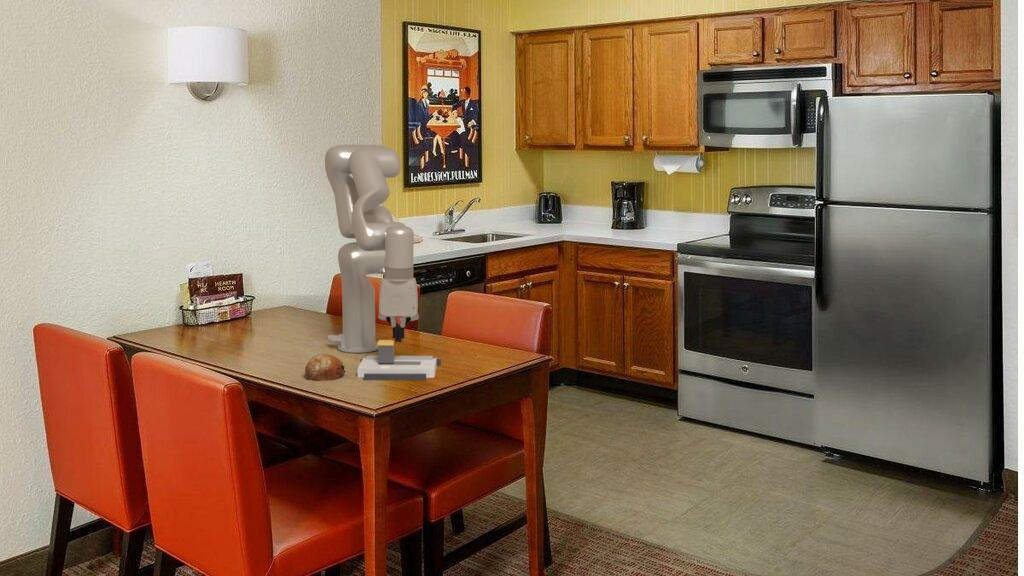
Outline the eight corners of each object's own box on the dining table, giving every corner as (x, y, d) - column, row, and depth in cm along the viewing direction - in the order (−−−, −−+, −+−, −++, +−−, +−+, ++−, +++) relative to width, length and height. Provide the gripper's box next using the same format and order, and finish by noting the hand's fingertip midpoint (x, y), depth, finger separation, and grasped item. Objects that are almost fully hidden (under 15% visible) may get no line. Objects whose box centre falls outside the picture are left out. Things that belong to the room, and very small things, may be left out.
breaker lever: (378, 363, 257) (377, 342, 256) (379, 360, 260) (379, 339, 259) (393, 363, 257) (393, 342, 256) (394, 360, 260) (394, 340, 259)
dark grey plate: (352, 380, 250) (352, 374, 250) (361, 363, 267) (361, 358, 267) (437, 380, 250) (437, 375, 250) (440, 364, 268) (440, 359, 268)
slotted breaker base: (357, 377, 252) (357, 365, 252) (363, 366, 264) (363, 355, 264) (434, 377, 253) (434, 365, 253) (436, 366, 265) (436, 355, 264)
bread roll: (315, 385, 259) (301, 359, 257) (349, 368, 259) (336, 342, 257) (310, 395, 249) (296, 368, 247) (346, 378, 249) (332, 350, 248)
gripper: (368, 275, 251) (368, 343, 254) (426, 276, 251) (425, 345, 255) (372, 270, 258) (371, 336, 262) (428, 271, 259) (427, 338, 262)
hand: (398, 340), depth 258 cm, fingers closed
